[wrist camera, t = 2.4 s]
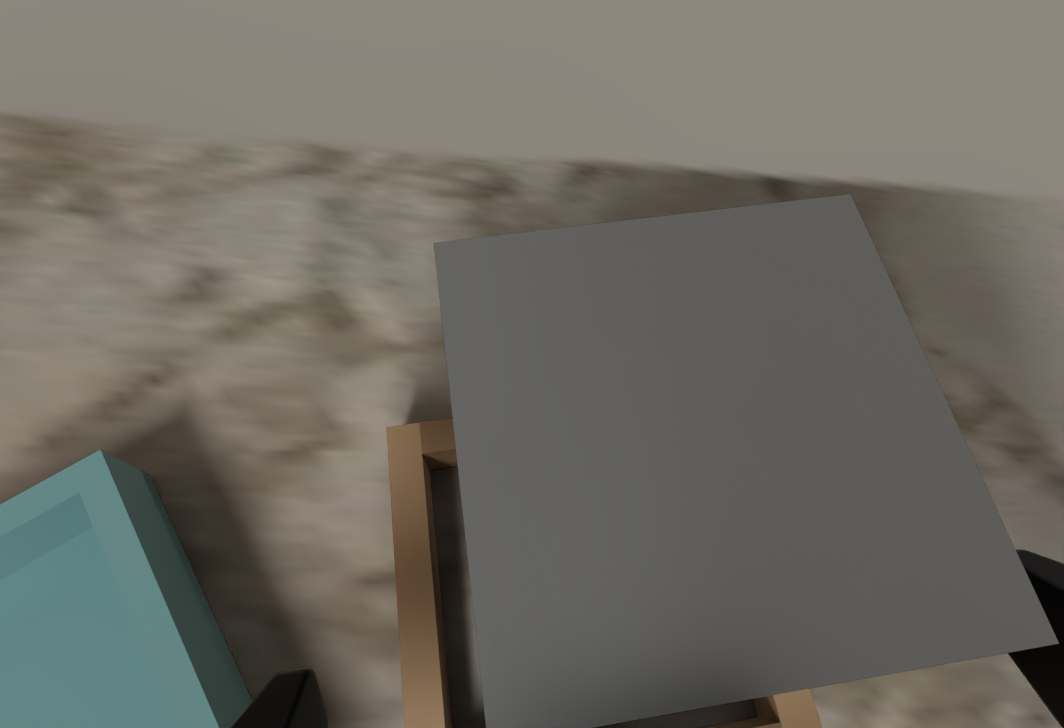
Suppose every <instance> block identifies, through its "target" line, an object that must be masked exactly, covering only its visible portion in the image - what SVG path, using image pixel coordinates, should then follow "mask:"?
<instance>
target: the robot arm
mask: <svg viewBox="0 0 1064 728" xmlns="http://www.w3.org/2000/svg"><path fill="white" fill-rule="evenodd" d="M1016 552H1017V554H1018V556H1019V558H1020V560H1021V562H1022V565H1023V567H1024V569H1025V571H1026V573H1027V575H1028V578H1029V580H1030V582H1031V584H1032V586H1033V588H1034V590H1035V593H1036V595H1037V597H1038V599H1039V601H1040V603H1041V606H1042V608H1043V610H1044V612H1045V614H1046V616H1047V618H1048V621H1049V623H1050V625H1051V627H1052V629H1053V631H1054V634H1055V636H1056V638H1057V640H1058V642H1059V644H1054V645H1049V646H1043V647H1038V648H1032V649H1026V650H1021V651H1015V652H1010V653H1008V654H1009V655H1010V657H1011V658H1012V660H1013V661H1014V662H1015V664H1016V665H1017V666H1018V668H1019V669H1020V671H1021V672H1022V673H1023V675H1024V676H1025V678H1026V679H1027V680H1028V682H1029V683H1030V684H1031V686H1032V687H1033V689H1034V690H1035V691H1036V693H1037V694H1038V695H1039V697H1040V698H1041V700H1042V701H1043V702H1044V704H1045V705H1046V706H1047V708H1048V709H1049V711H1050V712H1051V713H1052V715H1053V716H1054V717H1055V719H1056V720H1057V721H1058V723H1059V724H1060V725H1061V727H1062V728H1064V564H1063V563H1060V562H1057V561H1054V560H1052V559H1049V558H1046V557H1043V556H1040V555H1038V554H1035V553H1032V552H1029V551H1026V550H1016ZM230 728H328V719H327V714H326V710H325V706H324V703H323V699H322V696H321V692H320V689H319V685H318V682H317V678H316V675H315V673H314V672H313V670H312V669H310V668H300V669H294V670H288V671H282V672H280V673H278V674H276V675H275V676H274V677H273V678H272V679H271V680H270V681H269V683H268V684H267V685H266V686H265V687H264V688H263V690H262V691H261V692H260V693H259V694H258V695H257V697H256V698H255V699H254V700H253V701H252V702H251V704H250V705H249V706H248V707H247V708H246V709H245V711H244V712H243V713H242V714H241V715H240V716H239V718H238V719H237V720H236V721H235V722H234V723H233V724H232V726H231V727H230Z"/></svg>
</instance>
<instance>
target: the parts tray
mask: <svg viewBox="0 0 1064 728" xmlns="http://www.w3.org/2000/svg"><path fill="white" fill-rule="evenodd" d="M251 702H252V699H251V697H250V695H249V693H248V690H247V688H246V686H245V684H244V682H243V679H242V677H241V675H240V673H239V671H238V668H237V666H236V664H235V662H234V660H233V657H232V655H231V653H230V651H229V648H228V646H227V644H226V642H225V640H224V637H223V635H222V633H221V631H220V629H219V626H218V624H217V622H216V620H215V618H214V615H213V613H212V611H211V609H210V606H209V604H208V602H207V600H206V598H205V595H204V593H203V591H202V589H201V587H200V584H199V582H198V580H197V578H196V576H195V573H194V571H193V569H192V567H191V564H190V562H189V560H188V558H187V556H186V553H185V551H184V549H183V547H182V545H181V542H180V540H179V538H178V536H177V534H176V531H175V529H174V527H173V525H172V522H171V520H170V518H169V516H168V514H167V511H166V509H165V507H164V505H163V503H162V500H161V498H160V496H159V494H158V492H157V489H156V487H155V485H154V483H153V480H152V478H151V476H150V475H149V474H147V473H145V472H144V471H142V470H140V469H138V468H136V467H134V466H132V465H130V464H128V463H126V462H124V461H122V460H120V459H118V458H116V457H114V456H112V455H110V454H108V453H106V452H104V451H102V450H98V451H97V452H95V453H93V454H91V455H89V456H88V457H86V458H84V459H82V460H80V461H78V462H77V463H75V464H73V465H71V466H69V467H68V468H66V469H64V470H62V471H60V472H58V473H57V474H55V475H53V476H51V477H49V478H47V479H46V480H44V481H42V482H40V483H38V484H37V485H35V486H33V487H31V488H29V489H27V490H26V491H24V492H22V493H20V494H18V495H17V496H15V497H13V498H11V499H9V500H7V501H6V502H4V503H2V504H0V728H230V727H231V726H232V724H233V723H234V722H235V721H236V720H237V719H238V718H239V716H240V715H241V714H242V713H243V712H244V711H245V709H246V708H247V707H248V706H249V705H250V704H251Z"/></svg>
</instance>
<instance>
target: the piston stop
mask: <svg viewBox="0 0 1064 728" xmlns="http://www.w3.org/2000/svg"><path fill="white" fill-rule="evenodd" d="M434 251H435V260H436V269H437V279H438V288H439V297H440V306H441V316H442V325H443V334H444V343H445V353H446V362H447V371H448V380H449V390H450V399H451V408H452V417H453V427H454V436H455V445H456V454H457V464H458V473H459V482H460V491H461V501H462V510H463V519H464V528H465V538H466V547H467V556H468V565H469V575H470V584H471V593H472V602H473V612H474V621H475V630H476V639H477V649H478V658H479V667H480V676H481V686H482V695H483V704H484V714H485V723H486V728H594V727H599V726H605V725H610V724H616V723H621V722H627V721H632V720H638V719H644V718H649V717H655V716H660V715H666V714H671V713H677V712H682V711H688V710H693V709H699V708H705V707H710V706H716V705H721V704H727V703H732V702H738V701H743V700H749V699H755V698H760V697H766V696H771V695H777V694H782V693H788V692H793V691H799V690H804V689H810V688H816V687H821V686H827V685H832V684H838V683H843V682H849V681H854V680H860V679H865V678H871V677H877V676H882V675H888V674H893V673H899V672H904V671H910V670H915V669H921V668H927V667H932V666H938V665H943V664H949V663H954V662H960V661H965V660H971V659H976V658H982V657H988V656H993V655H999V654H1004V653H1010V652H1015V651H1021V650H1026V649H1032V648H1038V647H1043V646H1049V645H1054V644H1059V642H1058V640H1057V638H1056V636H1055V634H1054V631H1053V629H1052V627H1051V625H1050V623H1049V621H1048V618H1047V616H1046V614H1045V612H1044V610H1043V608H1042V606H1041V603H1040V601H1039V599H1038V597H1037V595H1036V593H1035V590H1034V588H1033V586H1032V584H1031V582H1030V580H1029V578H1028V575H1027V573H1026V571H1025V569H1024V567H1023V565H1022V562H1021V560H1020V558H1019V556H1018V554H1017V552H1016V550H1015V547H1014V545H1013V543H1012V541H1011V539H1010V537H1009V534H1008V532H1007V530H1006V528H1005V526H1004V524H1003V521H1002V519H1001V517H1000V515H999V513H998V511H997V509H996V506H995V504H994V502H993V500H992V498H991V496H990V493H989V491H988V489H987V487H986V485H985V483H984V481H983V478H982V476H981V474H980V472H979V470H978V468H977V465H976V463H975V461H974V459H973V457H972V455H971V453H970V450H969V448H968V446H967V444H966V442H965V440H964V437H963V435H962V433H961V431H960V429H959V427H958V425H957V422H956V420H955V418H954V416H953V414H952V412H951V409H950V407H949V405H948V403H947V401H946V399H945V396H944V394H943V392H942V390H941V388H940V386H939V384H938V381H937V379H936V377H935V375H934V373H933V371H932V368H931V366H930V364H929V362H928V360H927V358H926V356H925V353H924V351H923V349H922V347H921V345H920V343H919V340H918V338H917V336H916V334H915V332H914V330H913V328H912V325H911V323H910V321H909V319H908V317H907V315H906V312H905V310H904V308H903V306H902V304H901V302H900V300H899V297H898V295H897V293H896V291H895V289H894V287H893V284H892V282H891V280H890V278H889V276H888V274H887V272H886V269H885V267H884V265H883V263H882V261H881V259H880V256H879V254H878V252H877V250H876V248H875V246H874V243H873V241H872V239H871V237H870V235H869V233H868V231H867V228H866V226H865V224H864V222H863V220H862V218H861V215H860V213H859V211H858V209H857V207H856V205H855V203H854V200H853V198H852V196H851V194H846V195H837V196H829V197H820V198H812V199H803V200H795V201H786V202H778V203H769V204H761V205H752V206H744V207H735V208H727V209H718V210H710V211H701V212H693V213H684V214H676V215H667V216H659V217H650V218H642V219H633V220H625V221H616V222H608V223H599V224H591V225H582V226H574V227H565V228H557V229H548V230H540V231H531V232H523V233H514V234H506V235H497V236H489V237H480V238H472V239H463V240H455V241H446V242H438V243H434Z"/></svg>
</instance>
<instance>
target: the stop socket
mask: <svg viewBox="0 0 1064 728" xmlns="http://www.w3.org/2000/svg"><path fill="white" fill-rule="evenodd" d="M387 442H388V459H389V475H390V492H391V508H392V525H393V541H394V557H395V574H396V590H397V607H398V623H399V640H400V656H401V673H402V689H403V705H404V722H405V728H453V726H452V715H451V704H450V692H449V681H448V670H447V659H446V647H445V636H444V625H443V613H442V602H441V591H440V580H439V568H438V557H437V546H436V534H435V523H434V512H433V501H432V489H431V478H430V470H434V469H441V468H448V467H455V466H458V464H457V454H456V445H455V436H454V427H453V418H449V419H442V420H435V421H428V422H420V423H413V424H406V425H399V426H392V427H387ZM753 702H754V706H755V710H756V713H757V718H751V719H746V720H740V721H735V722H729V723H724V724H718V725H713V726H707V727H702V728H822V726H821V723H820V719H819V716H818V713H817V710H816V706H815V703H814V700H813V696H812V693H811V690H810V689H804V690H799V691H793V692H788V693H782V694H777V695H771V696H766V697H760V698H755V699H753Z"/></svg>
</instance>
